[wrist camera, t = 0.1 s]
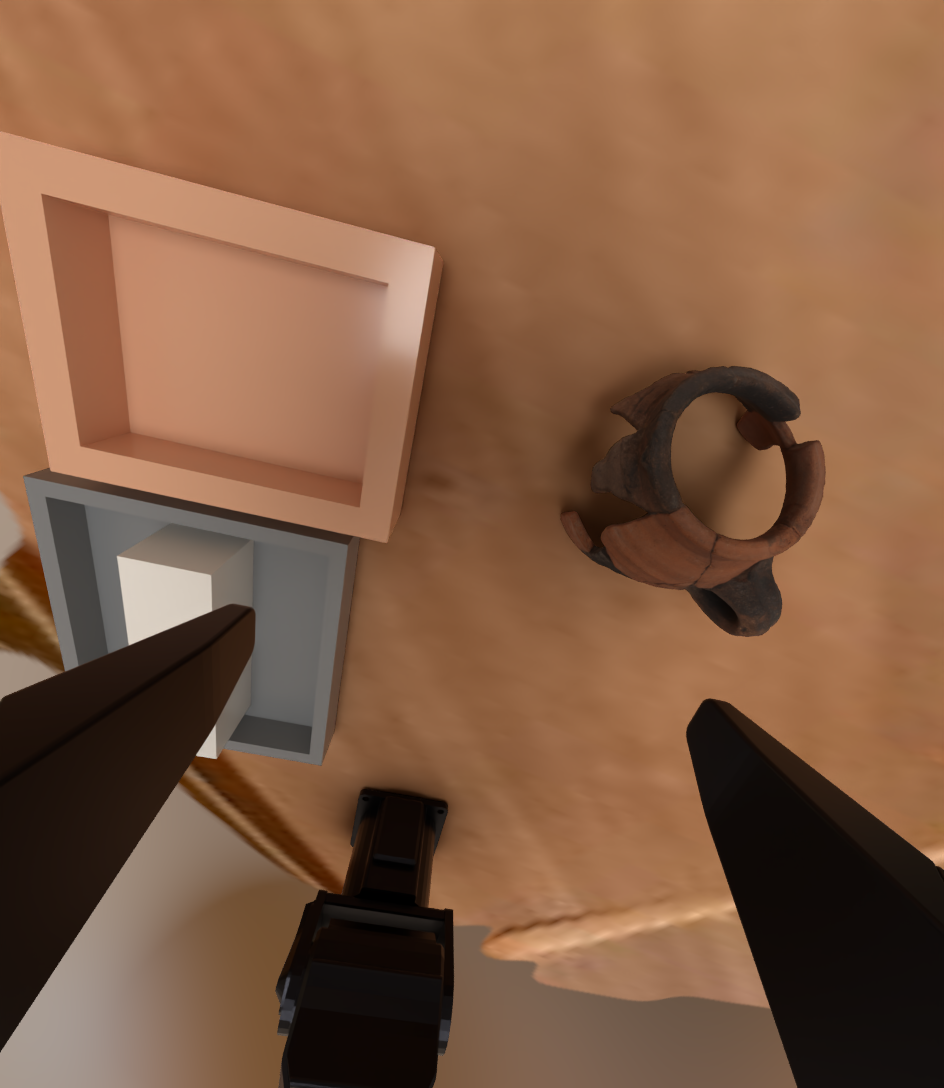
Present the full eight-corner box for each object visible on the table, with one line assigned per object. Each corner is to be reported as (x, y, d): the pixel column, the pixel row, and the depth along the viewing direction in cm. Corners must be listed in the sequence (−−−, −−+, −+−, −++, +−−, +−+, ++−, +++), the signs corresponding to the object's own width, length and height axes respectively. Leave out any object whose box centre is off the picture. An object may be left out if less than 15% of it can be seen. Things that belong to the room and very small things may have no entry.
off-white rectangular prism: (250, 704, 28) (216, 758, 25) (186, 692, 28) (142, 746, 24) (251, 642, 26) (214, 692, 22) (182, 629, 26) (132, 677, 22)
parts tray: (334, 731, 30) (321, 765, 28) (109, 691, 29) (76, 722, 26) (361, 523, 23) (348, 545, 21) (71, 460, 22) (22, 476, 20)
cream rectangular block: (252, 615, 25) (213, 662, 22) (180, 600, 25) (128, 646, 21) (253, 537, 23) (211, 574, 20) (174, 520, 23) (117, 556, 19)
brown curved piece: (509, 482, 23) (577, 435, 15) (639, 381, 24) (764, 290, 16) (645, 663, 24) (779, 713, 16) (761, 554, 25) (937, 548, 17)
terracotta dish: (400, 514, 23) (387, 543, 20) (112, 451, 22) (50, 471, 19) (443, 262, 18) (435, 247, 15) (77, 165, 17) (-14, 127, 14)
